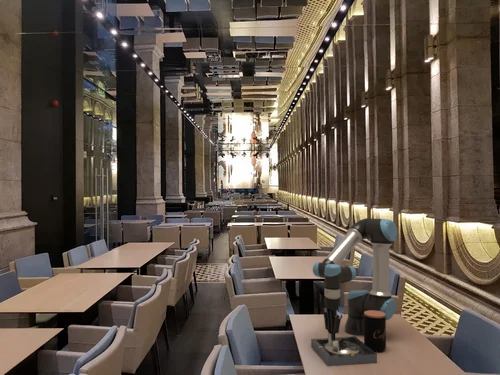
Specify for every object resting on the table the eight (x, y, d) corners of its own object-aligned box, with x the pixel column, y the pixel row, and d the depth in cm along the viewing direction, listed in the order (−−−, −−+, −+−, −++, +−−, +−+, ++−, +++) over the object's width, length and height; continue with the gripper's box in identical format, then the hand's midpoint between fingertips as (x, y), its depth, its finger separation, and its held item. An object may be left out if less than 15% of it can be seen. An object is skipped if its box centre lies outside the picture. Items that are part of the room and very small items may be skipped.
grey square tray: (355, 343, 214) (355, 335, 214) (377, 362, 190) (376, 352, 190) (311, 346, 210) (311, 337, 210) (327, 366, 186) (327, 356, 186)
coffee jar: (374, 354, 200) (374, 317, 200) (359, 347, 209) (359, 311, 209) (390, 350, 205) (390, 314, 205) (375, 343, 214) (374, 309, 214)
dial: (333, 340, 212) (333, 328, 212) (365, 348, 202) (365, 335, 202) (318, 351, 198) (318, 337, 198) (352, 359, 188) (352, 345, 188)
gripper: (318, 294, 200) (317, 342, 200) (333, 301, 189) (333, 352, 189) (330, 293, 204) (330, 340, 203) (347, 299, 192) (346, 349, 192)
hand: (331, 346), depth 196 cm, fingers closed
